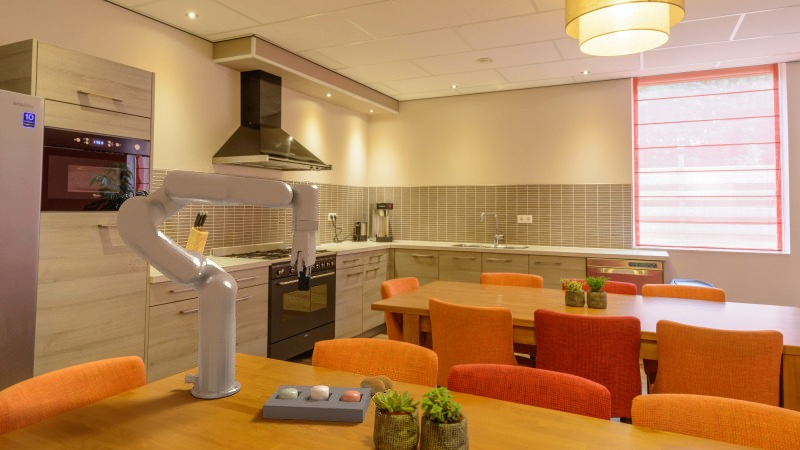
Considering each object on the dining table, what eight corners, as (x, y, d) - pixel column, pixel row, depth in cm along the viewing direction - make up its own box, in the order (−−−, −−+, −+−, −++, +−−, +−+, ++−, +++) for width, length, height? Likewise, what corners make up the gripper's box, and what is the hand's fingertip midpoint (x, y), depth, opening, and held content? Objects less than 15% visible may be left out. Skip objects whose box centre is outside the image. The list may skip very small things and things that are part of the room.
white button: (308, 405, 115) (308, 391, 115) (313, 398, 119) (313, 385, 119) (326, 406, 114) (326, 391, 114) (330, 399, 119) (330, 385, 119)
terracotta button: (340, 410, 114) (340, 396, 114) (344, 403, 118) (344, 390, 118) (358, 411, 114) (358, 397, 114) (361, 404, 118) (361, 390, 118)
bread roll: (398, 389, 131) (398, 375, 131) (375, 398, 125) (375, 383, 125) (377, 382, 137) (377, 369, 137) (354, 390, 130) (354, 376, 130)
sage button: (277, 408, 115) (277, 394, 115) (282, 401, 120) (282, 387, 120) (294, 408, 115) (294, 394, 115) (299, 402, 119) (299, 388, 119)
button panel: (262, 417, 110) (263, 405, 110) (281, 396, 124) (281, 384, 124) (362, 422, 109) (363, 409, 109) (370, 399, 123) (370, 388, 123)
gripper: (299, 226, 142) (298, 286, 142) (284, 227, 127) (283, 293, 127) (323, 227, 141) (323, 287, 141) (311, 227, 126) (310, 294, 126)
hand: (304, 290), depth 134 cm, fingers closed
